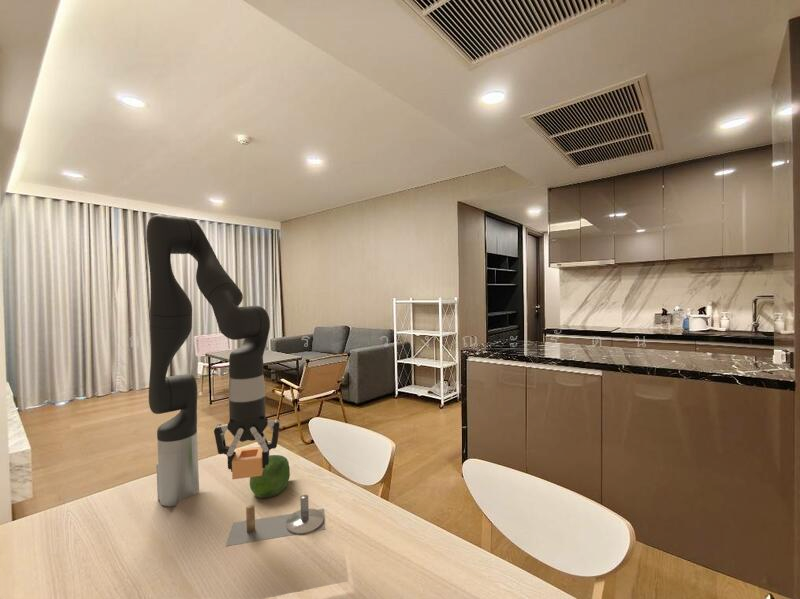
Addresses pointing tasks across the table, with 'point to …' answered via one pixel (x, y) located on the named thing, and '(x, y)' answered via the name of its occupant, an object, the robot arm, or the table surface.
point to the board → (262, 530)
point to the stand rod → (250, 518)
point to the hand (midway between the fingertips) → (249, 467)
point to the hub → (304, 519)
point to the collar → (247, 463)
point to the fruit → (271, 478)
